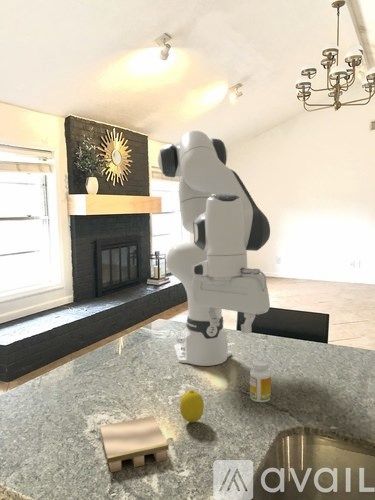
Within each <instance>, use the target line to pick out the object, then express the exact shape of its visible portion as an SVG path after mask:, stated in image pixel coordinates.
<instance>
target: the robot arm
mask: <svg viewBox="0 0 375 500" xmlns="http://www.w3.org/2000/svg"><path fill="white" fill-rule="evenodd" d="M227 161H228V150H227V148H226V146H225V143H224V141H222V139H219V138H218V139H217V138H212V137H211V138H209V136H208V135H207V134H206V133H205V132H202V131H200V130H191V131H189V132H187V133H185V134H184V135H183V136H182V138H181V139H180V141H179V142H175V143H171V142H170V143H167V144H164V145H163V146H162V147H161V148H159V153H158V157H157V163H158V166H159V167H158V168H159V169H160V171H161V172H162V175H164V176H165V177H167V178H176V177H179V181H178V182H179V183H178V186H179V187H178V197H179V199H178V200H179V207H180V208H179V209H180V214H181V222H182V225H183V227H184V229H185V230H186V231H187V232H189V233H191V234H193V242H190V243H189V242H186V243H185V242H184V243H181V244H178V245H174V246H171V248H170V249H169V250H168V253H166V261H165V262H166V266H167V269H168V271H169V272H170V274H171V275H173V277H175V278H176V279H177V280H179V282H180V283H181V284H182V286H183V287H184V289H185V293H186V296H187V307H188V308H187V309H188V310H187V311H188V315H187V317H186V325H185V328H184V329H183V330H182V331H181V332H180V336H177V340H176V341H177V343H175V344H174V347H173V349H174V352H175V355H176V357H177V362H178V363H182V364H189V365H195V366H200V367H201V366H202V367H204V366H205V367H206V366H207V367H209V366H216V365H220V364H223V363H224V362H226V361H227V359H228V358H229V357H230V356H232V351H231V350H229V348H228V347H229V346H228V335H227V331H226V329H224V317H223V316H222V315H223V314H222V312H223V310H226V311H233V312H237V313H243V318H244V319H245V321H244V323H242V324H240V331H241V333H243V334H250V333H252V331H253V330H252V324H253V322H254V320H255V318H256V315H261V314H266V313H267V312H268V311H269V310H270V308H271V305H270V304H271V303H270V296H269V289H268V285H267V276H266V275H265V273H264V272H263V271H262V270H261V269H259V268H248V254H247V251H253V252H255V251H256V252H257V251H259V250H260V249H262V248H263V247H264V246H265V245H266V244H267V242H268V241H269V239H270V235H271V226H270V222H269V219H268V218H267V216H266V215H265V213H264V212H263V210H261V209H260V208H259V207H258V205H257V204H256V202H255V201H254V199H253V198H252V196H251V194H250V192H249V191H248V189H247V187H246V186H245V184H244V182H243V181H242V179H241V177H240V176H239V175H238V174H237V172H236V171H234V170H232V169H231V168H229V167H228V166H226V165H227ZM212 194H213V195H212Z"/></svg>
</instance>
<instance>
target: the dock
mask: <svg viewBox="0 0 375 500" xmlns="http://www.w3.org/2000/svg"><path fill="white" fill-rule="evenodd" d="M99 432H100V435H101V439H102V443H103V448H104V452H105V456H106V461H107V464H108V465H109V469H110V473H114V472H115V473H116V472H120V471H122V461H125V460H129V459H130V460H131V461H132V465H133V467H134V468H136V467H141V466H145V456H147V455H148V456H149V455H151V454H152V455H153V457H154V459H155V461H156V463H158V462H163V461H167V451H169V449H170V448H169V443H168V441H167V440H166V438H165V435H164V434H163V431H162V430H161V428H160V425H159V423H158V422H157V420H156V418H155V416H154V415H148V416H145V417H140V418H134V419H129V420H124V421H119V422H113V423H109V424H103V425H100V426H99Z"/></svg>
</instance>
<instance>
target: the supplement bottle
mask: <svg viewBox="0 0 375 500" xmlns="http://www.w3.org/2000/svg"><path fill="white" fill-rule="evenodd" d="M271 379H272V375H271V371H270V370H269V362H268V361H267V360H263V359H256V360H255V359H254V360H253V361H252V368H251V369H250V372H249V398H250V399H251V400H252V401H253V402H255V403H256V402H257V403H267V402H269V401H271V396H272V395H271V394H272V393H271V392H272V389H271V387H272V385H271V383H272V381H271Z"/></svg>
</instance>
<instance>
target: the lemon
mask: <svg viewBox="0 0 375 500" xmlns="http://www.w3.org/2000/svg"><path fill="white" fill-rule="evenodd" d="M204 408H205V405H204V401H203V397H202V395H201V394H200V393H199V392H198V391H196V390H193V389H190V390H188V391H186V392H185V393H183V395H182V396H181V398H180V401H179V411H180V415H181V417H182V418H183V419H184V420H185V421H187V422H190V424H194V423H195V422H197V421H199V420H200V419H201V418H202V416H203V413H204Z"/></svg>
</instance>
